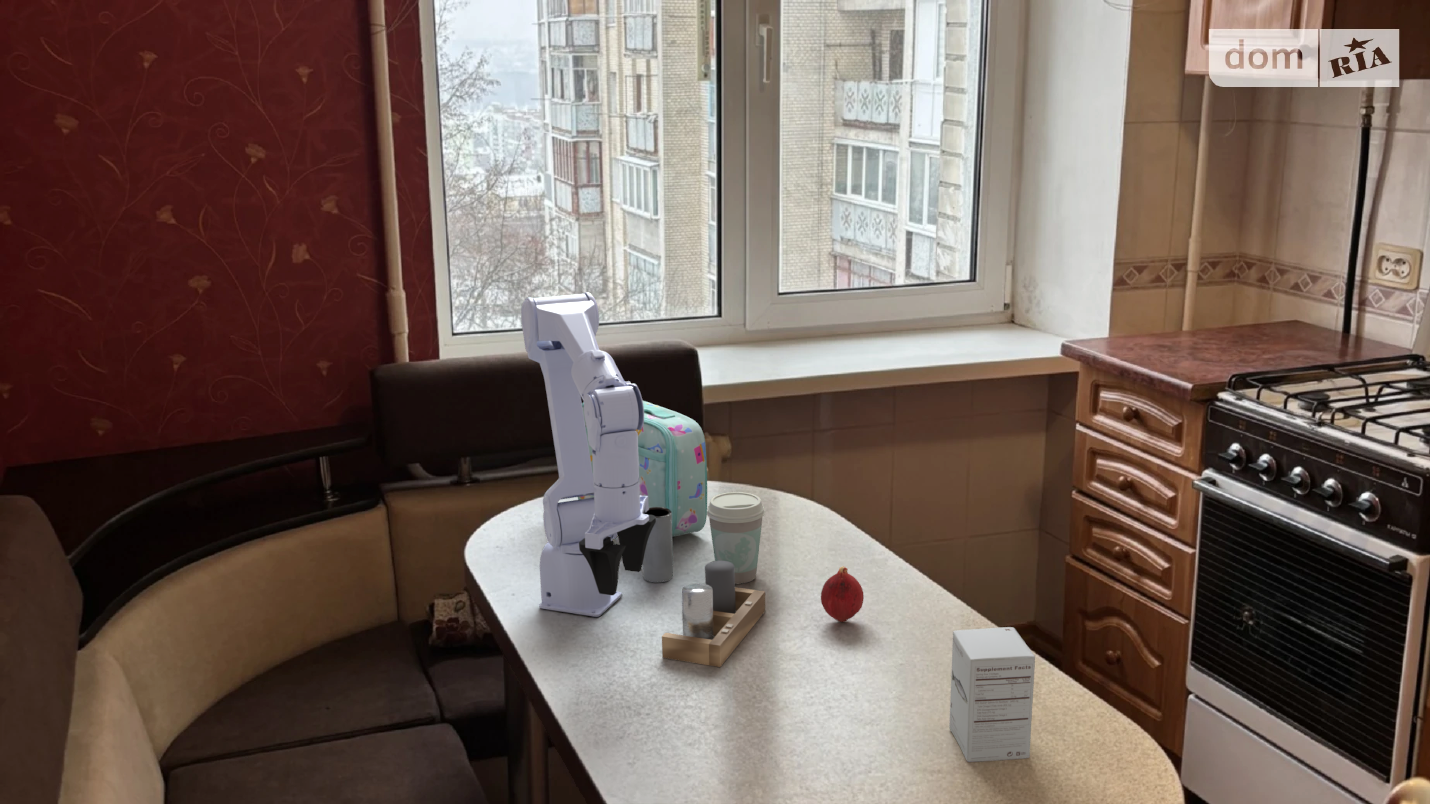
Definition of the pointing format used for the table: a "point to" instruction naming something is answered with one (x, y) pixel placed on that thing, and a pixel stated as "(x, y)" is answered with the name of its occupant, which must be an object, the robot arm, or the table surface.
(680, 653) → the rack
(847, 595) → the onion
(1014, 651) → the supplement box
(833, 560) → the table surface
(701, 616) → the grey rod
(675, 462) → the lunch box
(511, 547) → the table surface
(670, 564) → the grey tubular piece
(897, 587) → the table surface
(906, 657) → the table surface
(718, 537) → the coffee cup
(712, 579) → the dark grey cylinder
